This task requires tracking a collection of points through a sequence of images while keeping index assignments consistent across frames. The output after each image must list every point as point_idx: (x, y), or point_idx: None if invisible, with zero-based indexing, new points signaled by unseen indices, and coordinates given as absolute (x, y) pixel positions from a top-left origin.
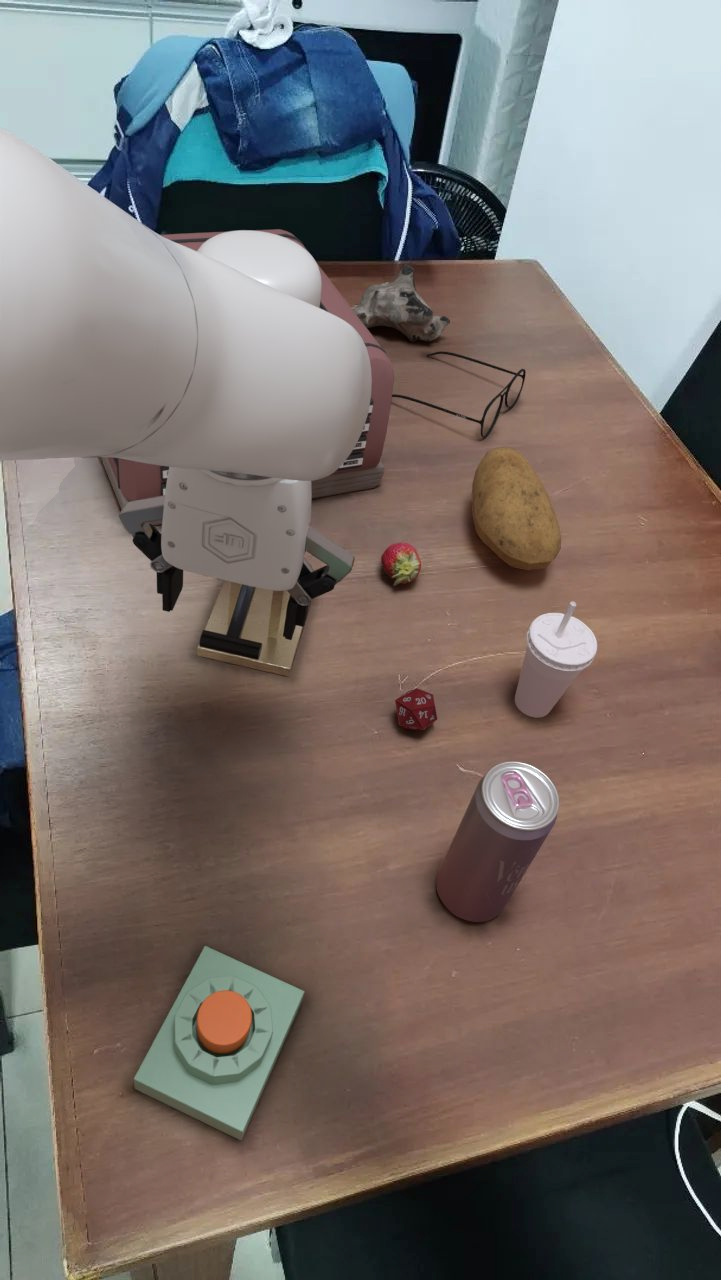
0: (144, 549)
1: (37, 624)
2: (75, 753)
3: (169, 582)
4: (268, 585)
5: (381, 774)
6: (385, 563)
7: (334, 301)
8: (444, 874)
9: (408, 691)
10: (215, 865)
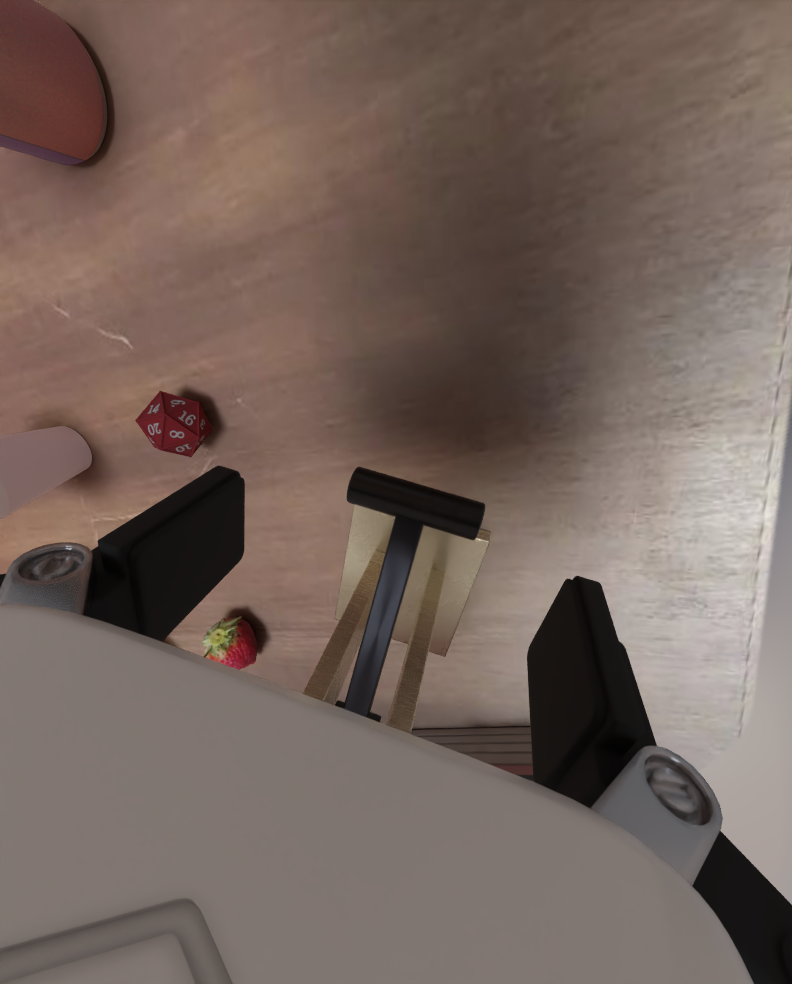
0: (772, 911)
1: (744, 599)
2: (717, 343)
3: (602, 689)
4: (28, 643)
5: (221, 324)
6: (245, 645)
7: None
8: (40, 44)
9: (190, 455)
10: (465, 90)
